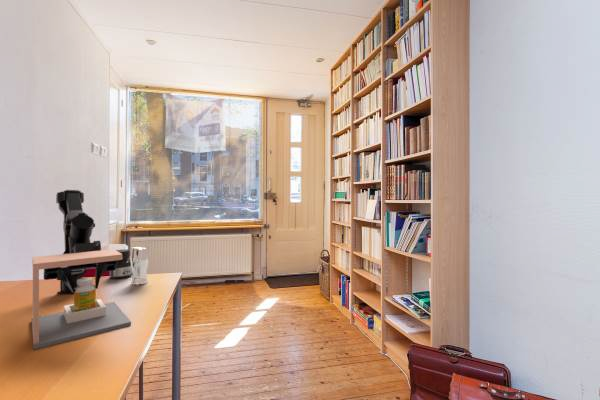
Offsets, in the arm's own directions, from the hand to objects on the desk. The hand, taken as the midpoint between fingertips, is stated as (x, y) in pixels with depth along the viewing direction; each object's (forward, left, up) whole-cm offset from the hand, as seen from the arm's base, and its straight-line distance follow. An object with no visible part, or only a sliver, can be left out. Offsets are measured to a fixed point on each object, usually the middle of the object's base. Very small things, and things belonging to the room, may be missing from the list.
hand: (85, 290), depth 91 cm
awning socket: (+1, -3, -9) cm, 9 cm away
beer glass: (-4, +38, -9) cm, 39 cm away
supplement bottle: (-1, +1, -7) cm, 7 cm away
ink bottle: (-18, +48, -9) cm, 52 cm away
